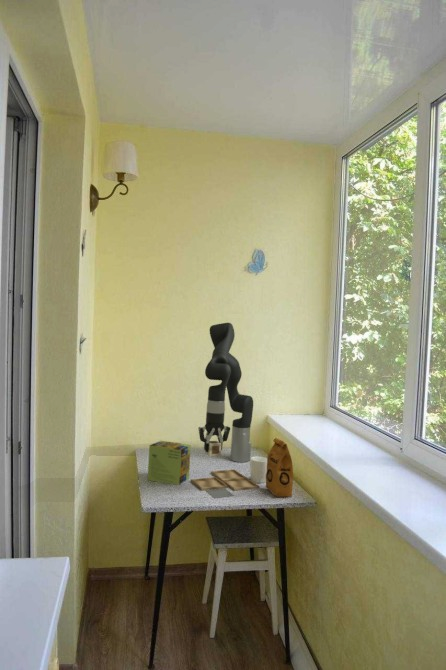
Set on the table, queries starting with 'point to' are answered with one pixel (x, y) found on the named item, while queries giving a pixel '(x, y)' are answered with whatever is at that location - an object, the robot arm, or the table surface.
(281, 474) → the coffee package
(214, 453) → the letter cube
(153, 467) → the protein box
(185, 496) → the table surface
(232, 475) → the tray
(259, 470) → the white cup
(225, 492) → the slate tile
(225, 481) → the tray
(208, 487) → the tray
